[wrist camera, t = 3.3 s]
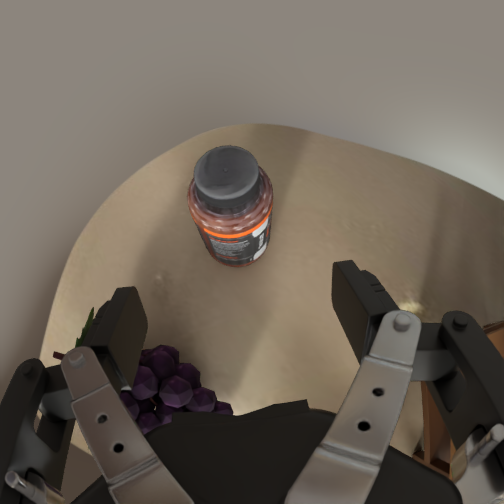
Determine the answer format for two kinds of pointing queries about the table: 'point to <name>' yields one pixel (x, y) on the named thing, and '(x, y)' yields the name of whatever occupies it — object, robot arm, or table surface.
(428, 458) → the shelf stand
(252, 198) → the supplement bottle
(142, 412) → the fruit
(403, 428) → the table surface
